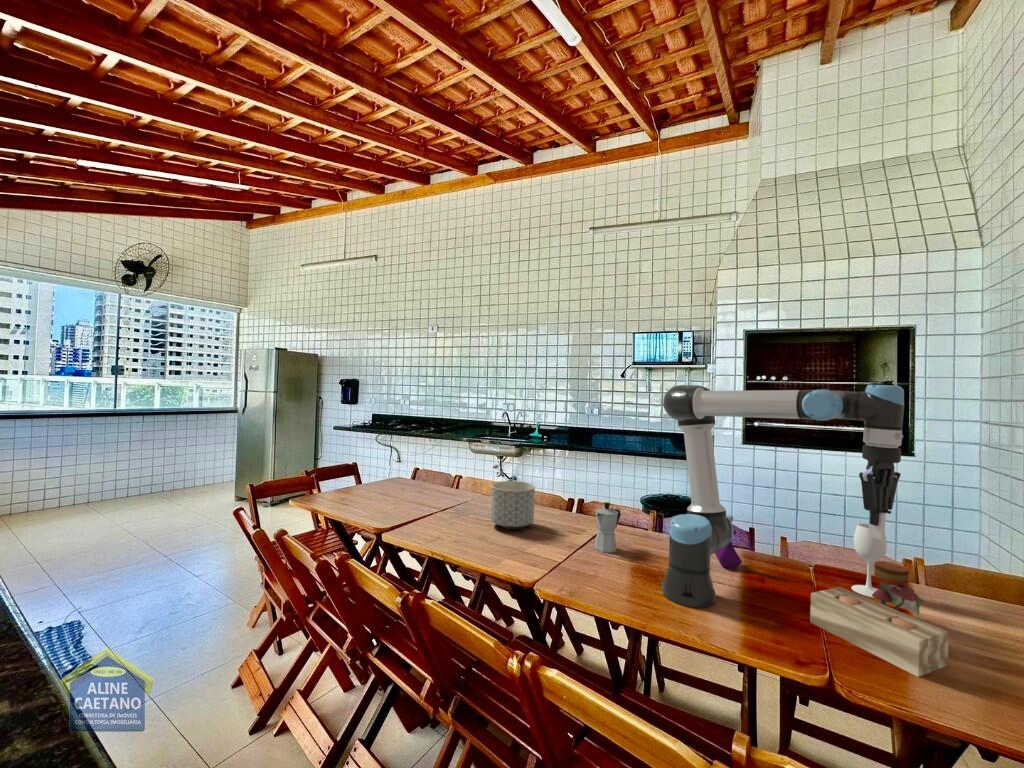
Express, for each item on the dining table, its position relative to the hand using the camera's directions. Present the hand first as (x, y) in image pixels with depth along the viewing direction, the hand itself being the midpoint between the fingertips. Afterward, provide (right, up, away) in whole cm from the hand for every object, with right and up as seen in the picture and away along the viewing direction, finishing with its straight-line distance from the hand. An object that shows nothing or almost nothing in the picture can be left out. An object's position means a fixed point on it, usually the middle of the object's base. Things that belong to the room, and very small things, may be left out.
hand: (876, 537), depth 112 cm
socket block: (-1, -27, -1) cm, 27 cm away
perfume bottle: (-16, -26, +45) cm, 55 cm away
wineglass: (+21, -28, +28) cm, 44 cm away
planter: (-93, -24, +82) cm, 126 cm away
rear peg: (-3, -26, +5) cm, 27 cm away
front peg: (+1, -26, -6) cm, 27 cm away
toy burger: (+14, -27, +11) cm, 32 cm away
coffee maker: (-56, -25, +59) cm, 85 cm away
